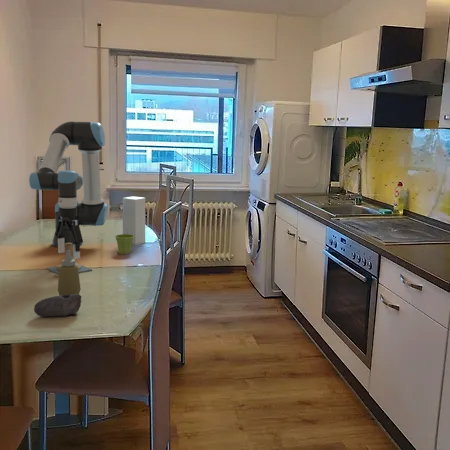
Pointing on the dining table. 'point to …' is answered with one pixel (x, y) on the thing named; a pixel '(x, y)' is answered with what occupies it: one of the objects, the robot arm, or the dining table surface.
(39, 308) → the perforated stone tool
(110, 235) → the dining table surface
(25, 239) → the dining table surface
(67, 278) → the squeeze bottle
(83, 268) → the mat
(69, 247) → the beige disc-based post
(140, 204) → the tall white carton
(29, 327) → the dining table surface
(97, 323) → the dining table surface
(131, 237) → the plant pot
